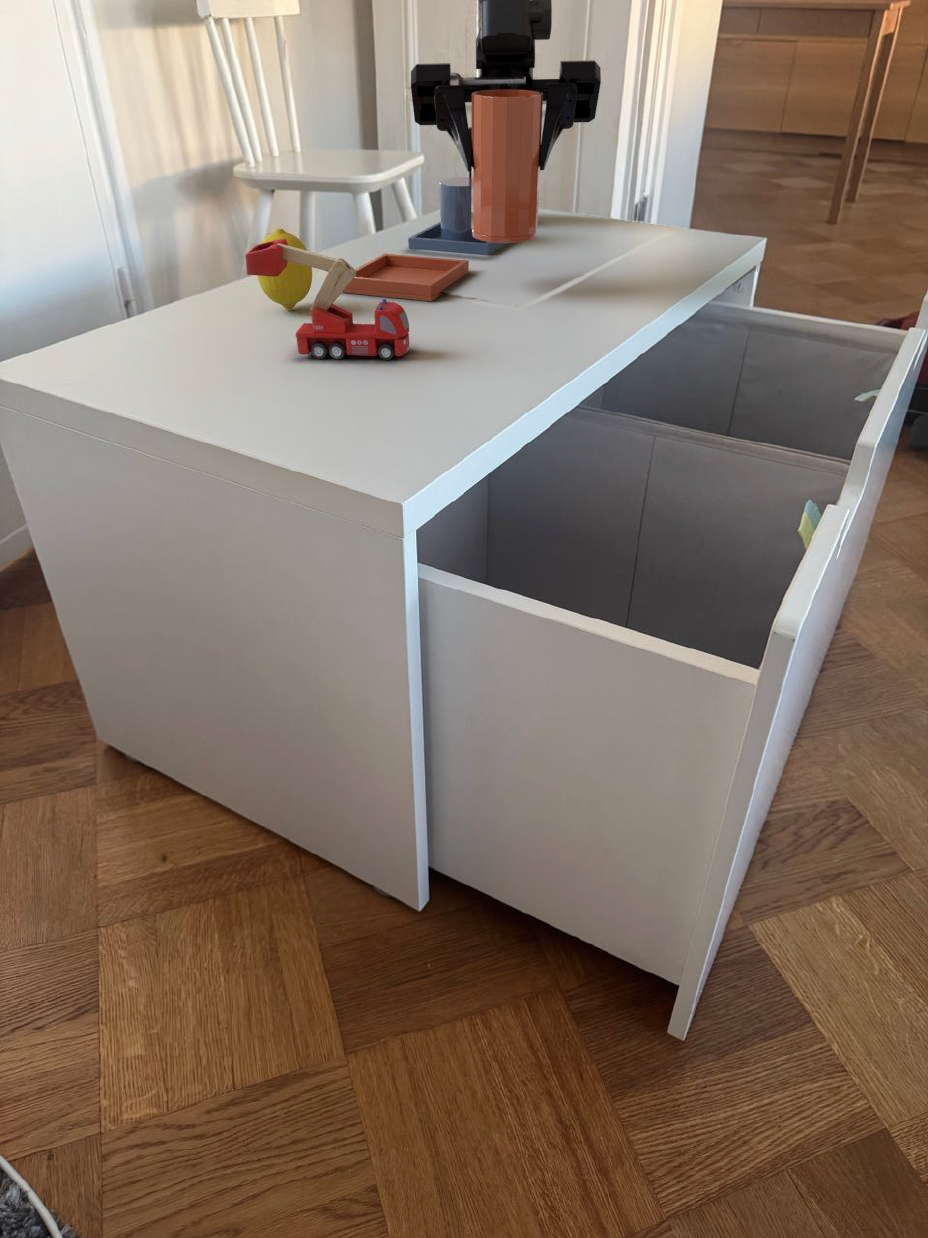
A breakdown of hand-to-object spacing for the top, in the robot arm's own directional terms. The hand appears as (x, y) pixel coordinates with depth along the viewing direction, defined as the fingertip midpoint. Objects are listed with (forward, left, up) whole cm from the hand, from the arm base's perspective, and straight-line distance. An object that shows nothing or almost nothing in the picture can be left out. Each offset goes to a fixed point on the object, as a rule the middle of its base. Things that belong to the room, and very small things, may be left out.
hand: (505, 168), depth 91 cm
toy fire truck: (+24, -4, -13) cm, 27 cm away
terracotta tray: (+2, -12, -12) cm, 17 cm away
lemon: (+16, -17, -13) cm, 26 cm away
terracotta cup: (-1, -1, -7) cm, 7 cm away
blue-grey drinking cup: (-16, -16, -12) cm, 26 cm away
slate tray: (-16, -16, -12) cm, 26 cm away
